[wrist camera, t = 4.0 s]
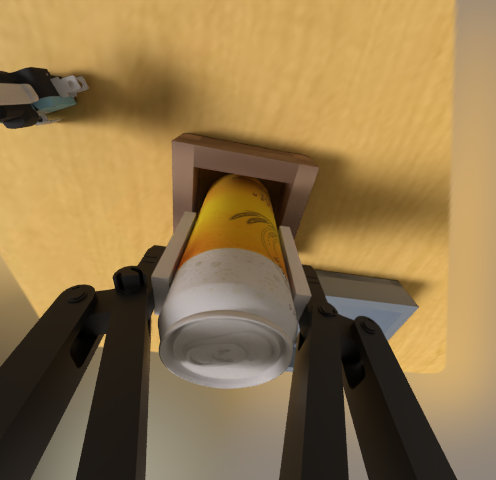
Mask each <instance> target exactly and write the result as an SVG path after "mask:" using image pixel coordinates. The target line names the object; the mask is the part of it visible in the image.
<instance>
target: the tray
mask: <svg viewBox="0 0 496 480" xmlns="http://www.w3.org/2000/svg"><path fill="white" fill-rule="evenodd" d="M315 271H316V273H317V276H318V279H319V281H320V284H321V286H322V289H323V292H324V294H325V297H326V299H327V302H328V303H330V304H331V305H333V306H334V307H335V308H336V310H337V311H338V314H340V315H342V316H344V317H347V318H350V319H352V320H355V318H356V317H358V316H366V317H369V318H370V319H372V320H374V321H375V322H376V323H377V324H378V325H379V326H380V328H381V329H382V331H383V333H384V335H385V337H386V339H387V341H388V340H389V339H390V338H391V337H392V336H393V335H394V333H395V332H396V331H397V330H398V329H399V328H400V327H401V326H402V325H403V324H404V323H405V322H406V321H407V319H408V318H409V317H410V316H411V315H412V314H413V313H414V312H415V311H416V310H417V309H418V308H419V306H418V305H417V304H416V303H415V302H414V300H413V299H412V298H411V297H410V295H409V294H408V293H407V292H406V290H405V289H404V288H403V287H402V285H401V284H400V283H399V282H398V281H395V280H388V279H381V278H373V277H366V276H358V275H351V274H343V273H336V272H328V271H321V270H315ZM299 331H300V328H299V323H298V332H297V335H298V333H299ZM296 337H297V336H296ZM296 344H297V343H296ZM296 344H294V346H293V359H292V362H291V364H290V366H289V367H288V368H287V369H286V370H285V371H290V372H293V367H294V359H295V352H296Z"/></svg>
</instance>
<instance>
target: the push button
mask: <svg viewBox="0 0 496 480" xmlns="http://www.w3.org/2000/svg"><path fill="white" fill-rule="evenodd" d="M78 81H80V82H81V83H82V88H81V87H80V85H79V83H78ZM88 89H89V87H88V85H87V83H86V81H85V79H84V77H82V76H79V77H75V76H73V75H71V76H68V77H65V78H62V77H58V76H51V75H50V73H49V72H48V70H47V69H42V68H34V67H29V68H24V69H21V70H19V71H16V72H12V73H7V72H4V71H0V123H3V124H4V125H5V126H6V127H7V128H11V129H16V128H23V127H29V126H32V125H34V124H36V125H44V124H50V123H54V122H57V121H60V120H62V119H56V120H48V118H47V117H46V115H45V114H48V113H51V112H54V111H57V110H60V109H63V108H67V107H70V106H73V105H76V104H77V103H76V101H75V100H74V98H73V97H75V96H78V95H77V93H79V92H82V91H85V90H88Z"/></svg>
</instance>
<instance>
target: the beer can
mask: <svg viewBox="0 0 496 480" xmlns="http://www.w3.org/2000/svg"><path fill="white" fill-rule="evenodd" d="M158 329H159V336H160V345H159V356H160V358H161V361H162V362H163V364H164V365H165V366H166V367H167V368H168V369H169V370H170V371H171V372H172V373H174V374H175V375H177V376H179V377H180V378H182V379H185V380H187V381H189V382H192V383H196V384H199V385H204V386H208V387H215V388H242V387H250V386H255V385H259V384H262V383H265V382H268V381H270V380H272V379H274V378H276V377H278V376H279V375H281V374H282V373H283V372H284V371H285V370H286V369H287V368H288V367H289V366H290V364H291V362H292V359H293V346H294V343H295V340H296V336H297V332H298V322H297V317H296V312H295V308H294V303H293V299H292V294H291V290H290V285H289V281H288V276H287V272H286V267H285V263H284V258H283V254H282V249H281V245H280V240H279V236H278V231H277V227H276V222H275V218H274V213H273V209H272V204H271V200H270V196H269V193H268V191H267V189H266V188H265V187H264V185H263V184H262V183H261V182H260V181H258V180H257V179H255V178H254V177H250V176H244V175H238V174H230V175H226V176H224V177H222V178H220V179H218V180H217V181H216V182H215V183H214V184H213V185H212V186H211V187H210V189H209V191H208V193H207V195H206V198H205V200H204V203H203V205H202V208H201V210H200V213H199V216H198V218H197V221H196V223H195V226H194V228H193V231H192V233H191V236H190V238H189V241H188V243H187V246H186V248H185V251H184V253H183V256H182V259H181V261H180V264H179V266H178V269H177V271H176V274H175V276H174V279H173V281H172V284H171V286H170V289H169V291H168V294H167V297H166V299H165V302H164V304H163V307H162V309H161V312H160V314H159V318H158Z"/></svg>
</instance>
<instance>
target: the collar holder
mask: <svg viewBox="0 0 496 480" xmlns="http://www.w3.org/2000/svg"><path fill="white" fill-rule="evenodd" d="M201 168H204V169H210V170H215V171H221V172H227V173H233V174H238V175H244V176H250V177H256V178H261V179H267V180H273V181H279V182H283V185H282V189H281V193H280V196H279V200H278V204H277V207H276V211H275V215H274V218H275V222H276V227H277V231H278V230H279V226H285V227H290V230H291V233H292V236H293V239H294V238H295V236H296V233H297V230H298V227H299V224H300V221H301V219H302V216H303V213H304V210H305V207H306V204H307V202H308V199H309V196H310V193H311V190H312V187H313V185H314V182H315V179H316V176H317V173H318V170H319V167H318V166H317V165H316V164H315V163H314V162H313V161H312V160H311V159H310V158H309V156H305V155H299V154H294V153H289V152H283V151H278V150H273V149H267V148H262V147H257V146H251V145H246V144H241V143H236V142H230V141H225V140H220V139H214V138H209V137H204V136H198V135H193V134H188V133H183V134H182V135H180V136H178V137H177V138H175V139H174V140H172V177H173V234H174V232H175V230H176V228H177V226H178V224H179V222H180V220H181V218H182V216H183V214H184V212H185V211H187V212H194V213H196V221H197V218H198V213H199V195H200V178H201Z"/></svg>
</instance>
